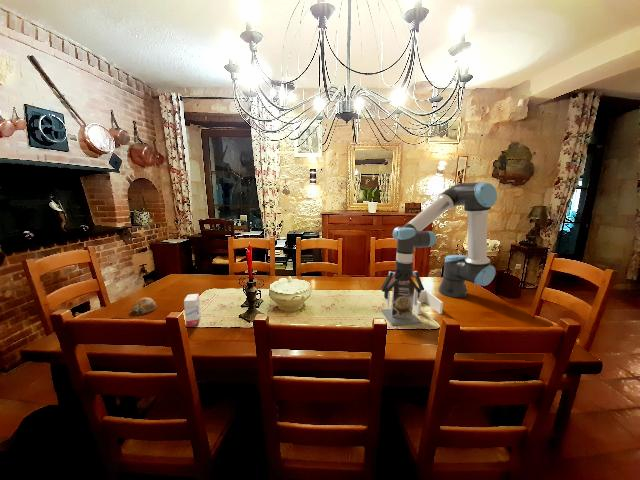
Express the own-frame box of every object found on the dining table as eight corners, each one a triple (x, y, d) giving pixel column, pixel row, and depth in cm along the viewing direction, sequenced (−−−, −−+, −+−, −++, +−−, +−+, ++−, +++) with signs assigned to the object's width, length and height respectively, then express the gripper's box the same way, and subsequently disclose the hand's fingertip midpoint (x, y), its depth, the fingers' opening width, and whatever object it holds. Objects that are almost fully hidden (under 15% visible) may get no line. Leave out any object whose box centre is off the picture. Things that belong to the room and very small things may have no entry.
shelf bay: (426, 300, 146) (426, 290, 145) (441, 313, 130) (443, 302, 129) (404, 301, 145) (405, 291, 144) (417, 314, 129) (418, 303, 128)
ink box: (198, 325, 116) (196, 300, 114) (185, 327, 115) (183, 301, 113) (201, 316, 124) (199, 293, 122) (189, 318, 123) (187, 294, 121)
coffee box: (391, 317, 124) (393, 284, 121) (390, 311, 130) (392, 280, 127) (412, 319, 122) (414, 286, 119) (410, 313, 128) (412, 281, 125)
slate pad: (408, 310, 134) (408, 308, 134) (421, 323, 120) (421, 321, 120) (381, 311, 132) (381, 309, 132) (391, 325, 119) (391, 323, 118)
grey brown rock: (157, 317, 131) (163, 301, 133) (135, 316, 123) (141, 298, 124) (147, 312, 136) (153, 296, 138) (125, 310, 128) (132, 294, 130)
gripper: (426, 258, 126) (422, 300, 130) (375, 259, 124) (373, 302, 127) (434, 263, 119) (430, 307, 123) (380, 263, 116) (378, 309, 120)
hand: (401, 304), depth 125 cm, fingers open, 13 cm apart
